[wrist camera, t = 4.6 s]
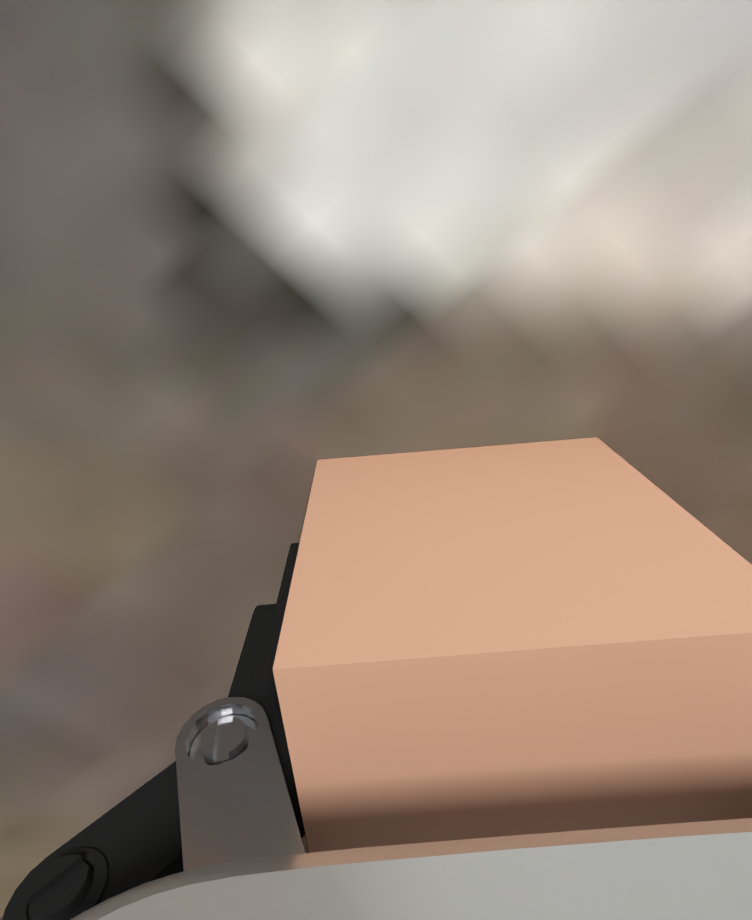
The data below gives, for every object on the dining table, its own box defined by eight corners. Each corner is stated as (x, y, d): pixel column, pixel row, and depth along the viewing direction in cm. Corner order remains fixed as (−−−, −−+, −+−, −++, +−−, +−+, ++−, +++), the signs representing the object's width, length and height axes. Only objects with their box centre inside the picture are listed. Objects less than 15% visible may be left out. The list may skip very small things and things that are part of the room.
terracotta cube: (317, 460, 11) (272, 669, 6) (597, 437, 11) (826, 626, 6) (345, 674, 14) (333, 972, 8) (577, 655, 13) (727, 943, 8)
